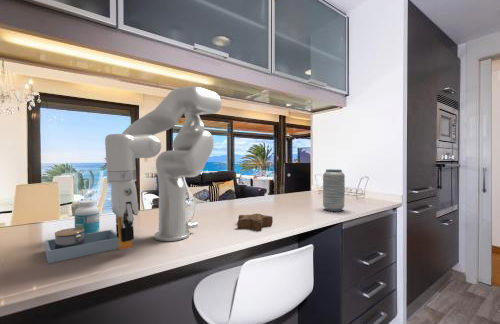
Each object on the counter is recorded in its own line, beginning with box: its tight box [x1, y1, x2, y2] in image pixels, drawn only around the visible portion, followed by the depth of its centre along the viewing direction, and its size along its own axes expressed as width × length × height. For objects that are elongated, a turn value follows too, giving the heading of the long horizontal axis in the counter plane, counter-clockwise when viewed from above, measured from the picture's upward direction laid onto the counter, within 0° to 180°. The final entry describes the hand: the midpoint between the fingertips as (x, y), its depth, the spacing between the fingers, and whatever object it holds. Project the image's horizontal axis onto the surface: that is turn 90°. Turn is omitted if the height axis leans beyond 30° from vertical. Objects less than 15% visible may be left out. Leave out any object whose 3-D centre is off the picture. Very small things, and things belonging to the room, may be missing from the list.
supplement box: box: [117, 214, 133, 251], centre depth 74 cm, size 3×3×10 cm
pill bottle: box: [74, 199, 100, 234], centre depth 89 cm, size 8×7×14 cm
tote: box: [44, 229, 120, 264], centre depth 78 cm, size 18×12×4 cm, turn 132°
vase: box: [322, 168, 346, 212], centre depth 143 cm, size 12×12×23 cm
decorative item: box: [236, 213, 274, 231], centre depth 108 cm, size 16×6×15 cm
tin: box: [54, 227, 84, 249], centre depth 75 cm, size 7×7×6 cm
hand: (125, 237), depth 74 cm, fingers closed on supplement box, 4 cm apart
